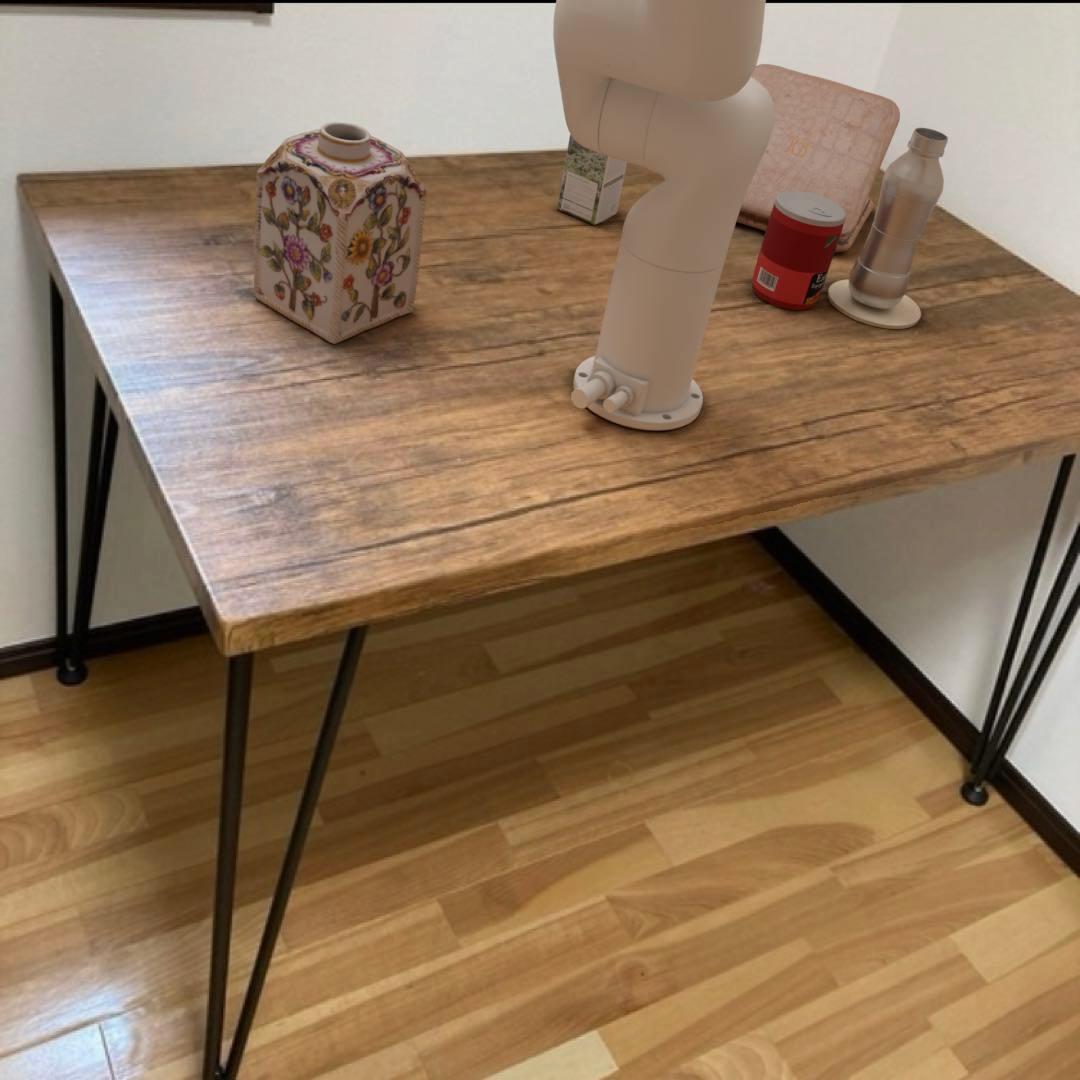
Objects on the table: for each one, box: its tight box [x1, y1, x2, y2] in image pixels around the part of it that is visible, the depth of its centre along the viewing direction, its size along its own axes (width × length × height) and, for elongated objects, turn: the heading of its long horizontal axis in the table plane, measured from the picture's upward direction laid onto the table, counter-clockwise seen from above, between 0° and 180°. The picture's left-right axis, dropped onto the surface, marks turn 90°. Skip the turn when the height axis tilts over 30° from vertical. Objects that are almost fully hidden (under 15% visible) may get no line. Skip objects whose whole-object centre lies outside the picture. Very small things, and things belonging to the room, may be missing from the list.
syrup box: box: [556, 133, 628, 225], centre depth 149 cm, size 6×6×14 cm
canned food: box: [751, 191, 846, 311], centre depth 140 cm, size 8×8×11 cm
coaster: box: [826, 278, 922, 330], centre depth 145 cm, size 11×11×1 cm
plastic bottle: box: [848, 127, 949, 309], centre depth 139 cm, size 6×7×20 cm
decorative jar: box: [253, 121, 427, 345], centre depth 119 cm, size 12×12×18 cm
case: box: [736, 63, 901, 253], centre depth 159 cm, size 20×21×16 cm
